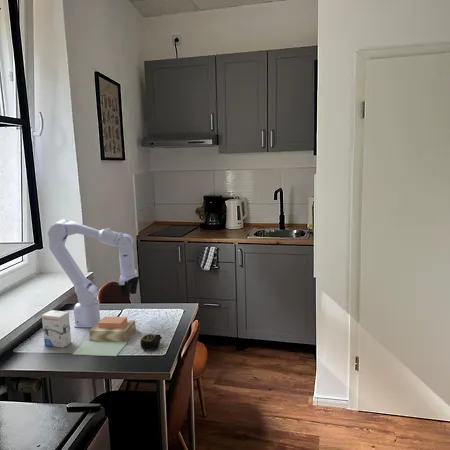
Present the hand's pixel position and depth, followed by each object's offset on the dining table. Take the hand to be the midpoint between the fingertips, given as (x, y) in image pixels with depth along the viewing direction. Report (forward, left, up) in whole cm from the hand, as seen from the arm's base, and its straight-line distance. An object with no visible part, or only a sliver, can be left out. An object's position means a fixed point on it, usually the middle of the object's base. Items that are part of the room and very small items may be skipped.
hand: (130, 296), depth 169 cm
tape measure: (+16, -22, -11) cm, 29 cm away
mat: (-2, -25, -10) cm, 27 cm away
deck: (-2, -14, -10) cm, 18 cm away
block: (-2, -13, -6) cm, 15 cm away
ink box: (-20, -22, -11) cm, 32 cm away
